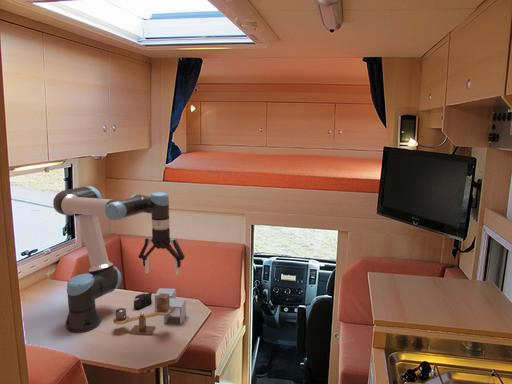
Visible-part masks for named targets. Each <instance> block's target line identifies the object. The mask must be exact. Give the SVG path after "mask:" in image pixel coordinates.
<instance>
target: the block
mask: <svg viewBox="0 0 512 384" xmlns="http://www.w3.org/2000/svg"><path fill="white" fill-rule="evenodd" d="M169 308H170V298H169V294H163V293H160V294H159V295H158V297H157V312H164V313H167V312H168V310H169Z"/></svg>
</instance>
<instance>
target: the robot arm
mask: <svg viewBox="0 0 512 384" xmlns="http://www.w3.org/2000/svg"><path fill="white" fill-rule="evenodd" d="M52 201H53V202H52V206H53V208H54V210H55V211H56V212H57V213H58V214H60V215H64V216H74V218H76V219H78V221H79V225H80V230H81V233H82V236H83V242H84V244H85V248H86V251H87V253H86V254H87V256H88V259H89V263H90V267H89V269H88V273H82V274H78V275H75V276H73V277H71V278H70V279H69V280H68V281H67V284H66V288H67V289H66V293H67V304H68V306H67V307H68V313H67V317H66V321H65V329H66V330H67V331H68V332H71V333H85V332H89V331H92V330H94V329H95V328H97V327H99V326H100V324H101V316H100V314H99V311H98V310H97V307H96V300H97V299H98V298H100V297H101V298H102V296H105V295H107V294H109V293H113V292H114V291H115V290H116V289H118V288H119V287H120V285H121V283H122V273H121V271H120V270H119V268H118V267H116V266H114V263H113V262H111V261H110V260H109V257H108V252H107V248H106V244H105V240H104V237H103V231H102V229H101V223H100V221H99V217H105V218H107V219H109V220H111V221H117V220H118V221H119V220H122V219H125V218H127V217H131V216H135V215H139V214H143V213H146V214H150V215H151V228H152V229H151V237H150V236H149V237H145V239H144V244H143V247H142V249H141V251H140V253H139V255H138V258H139V259H142V266H143V267H144V269H145V275H148V274H149V273H150V259H149V255H151V253H152V252H153V251H154V250H155V249H158V250H159V249H162V250H165V249H166V250H167V251H168V252H169V253H170V254H171V255H172V257H173V258H174V259H175V261H174V262H175V263H174V264H175V265H174V267H175V268H174V269H175V276H178V275H179V273H180V271H179V270H180V269H179V268H181V263H182V262H181V261H184V259H185V258H186V256H185V254H184V253H183V250H182V248H181V247H180V245H179V242H178V238H176V237H175V238H172V239H171V236H170V233H171V232H170V231H171V230H170V199H169V194H168V193H167V192H160V191H159V192H157V191H156V192H152V193H151V194H150V195H144V194H133V195H131V196H130V197H129V198H126V199H125V198H124V199H110V198H109V199H108V198H102V195H101V193H100V191H99V190H98V189H97V188H95V187H94V186H91V185H87V186H86V185H85V186H79V187H75V188H70V189H65V190H62V191H59V192H58V193H57V194H56V195H55V196H54V198H53V200H52ZM151 243H152V244H153V245H152V247H151V248H149V250H148V251H147V252H146V250H147V249H148V246H149V244H151ZM171 244H172V245H173V247H174V248H173V247H172V245H171ZM145 252H146V253H145ZM144 254H145V255H144Z"/></svg>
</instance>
